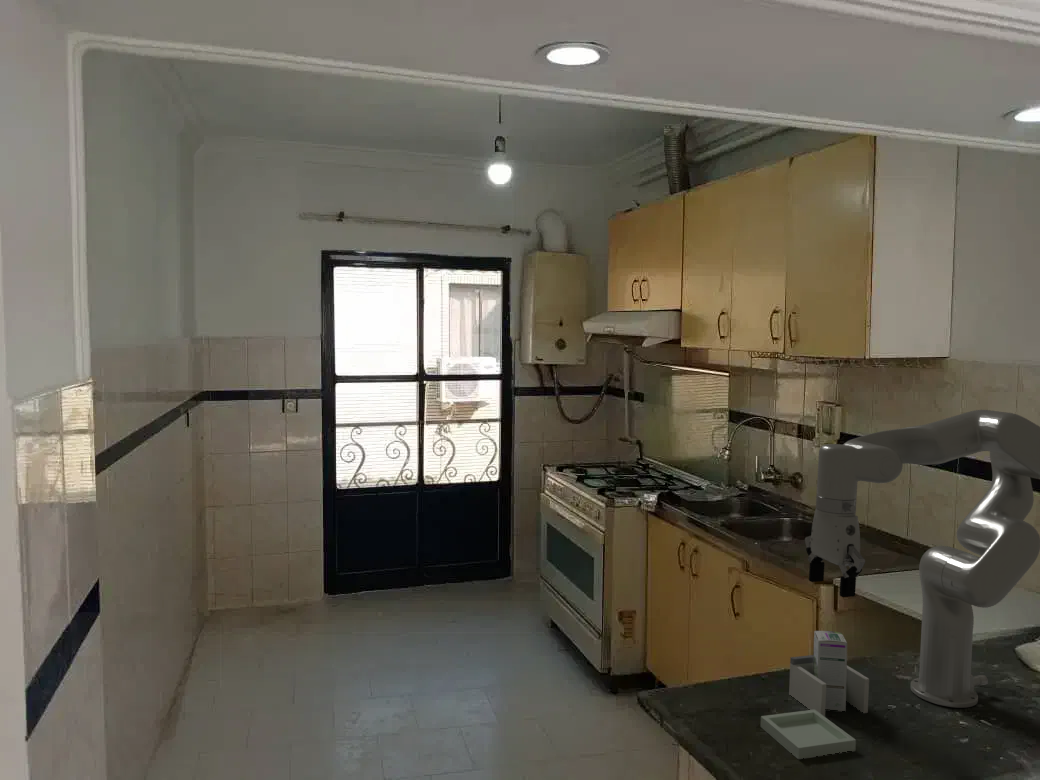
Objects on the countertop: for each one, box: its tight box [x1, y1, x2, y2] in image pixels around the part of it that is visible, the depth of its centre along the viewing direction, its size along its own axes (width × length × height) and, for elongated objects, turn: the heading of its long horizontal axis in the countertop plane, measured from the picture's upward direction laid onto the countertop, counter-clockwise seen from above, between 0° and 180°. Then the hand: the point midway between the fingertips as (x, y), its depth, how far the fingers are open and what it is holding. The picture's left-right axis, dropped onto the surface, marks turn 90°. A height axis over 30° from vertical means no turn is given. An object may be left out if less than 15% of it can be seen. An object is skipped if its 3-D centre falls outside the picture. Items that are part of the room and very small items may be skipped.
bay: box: [788, 654, 870, 718], centre depth 159 cm, size 11×10×8 cm
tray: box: [759, 709, 857, 760], centre depth 145 cm, size 12×12×2 cm
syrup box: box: [813, 630, 848, 712], centre depth 159 cm, size 6×6×14 cm
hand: (831, 588), depth 158 cm, fingers open, 9 cm apart
